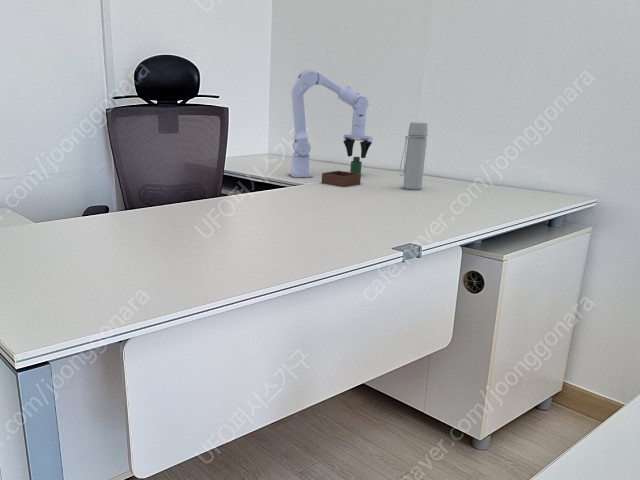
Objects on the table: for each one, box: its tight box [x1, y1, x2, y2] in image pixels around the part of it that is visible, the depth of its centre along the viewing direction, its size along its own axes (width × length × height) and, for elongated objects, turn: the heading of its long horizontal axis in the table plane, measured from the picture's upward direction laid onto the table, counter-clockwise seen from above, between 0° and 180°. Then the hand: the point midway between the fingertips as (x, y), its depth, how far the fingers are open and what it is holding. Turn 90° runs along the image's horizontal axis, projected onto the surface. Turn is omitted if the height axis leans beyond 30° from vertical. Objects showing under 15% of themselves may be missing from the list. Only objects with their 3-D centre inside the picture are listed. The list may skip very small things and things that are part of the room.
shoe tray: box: [321, 170, 362, 188], centre depth 245 cm, size 12×10×4 cm
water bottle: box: [399, 121, 429, 191], centre depth 230 cm, size 9×8×25 cm
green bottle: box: [349, 156, 363, 175], centre depth 265 cm, size 5×5×8 cm
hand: (356, 157), depth 263 cm, fingers open, 7 cm apart
